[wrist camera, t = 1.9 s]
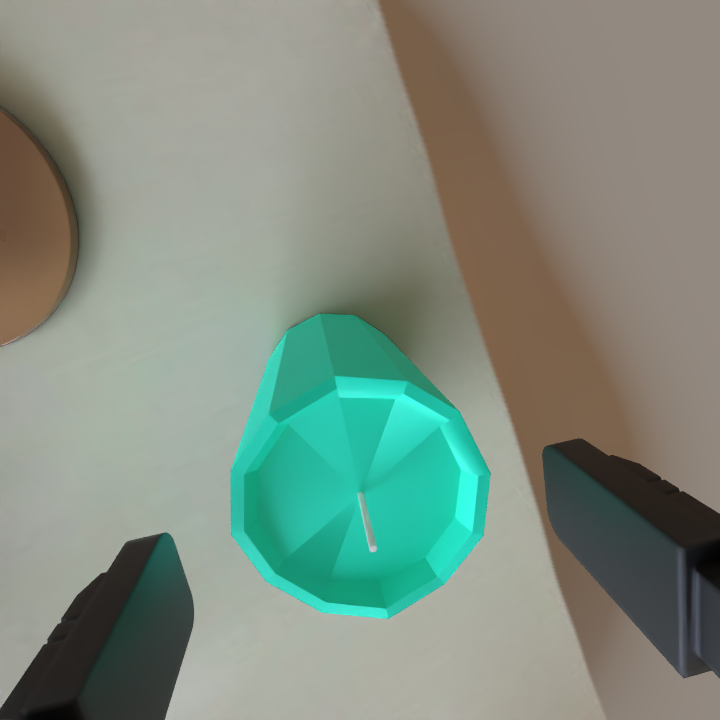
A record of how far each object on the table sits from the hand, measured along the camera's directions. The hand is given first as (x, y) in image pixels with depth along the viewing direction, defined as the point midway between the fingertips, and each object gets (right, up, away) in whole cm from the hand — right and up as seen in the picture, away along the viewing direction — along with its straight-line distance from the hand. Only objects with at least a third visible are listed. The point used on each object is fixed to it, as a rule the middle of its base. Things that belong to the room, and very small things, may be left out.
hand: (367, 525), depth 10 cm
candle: (-1, +3, +11) cm, 11 cm away
